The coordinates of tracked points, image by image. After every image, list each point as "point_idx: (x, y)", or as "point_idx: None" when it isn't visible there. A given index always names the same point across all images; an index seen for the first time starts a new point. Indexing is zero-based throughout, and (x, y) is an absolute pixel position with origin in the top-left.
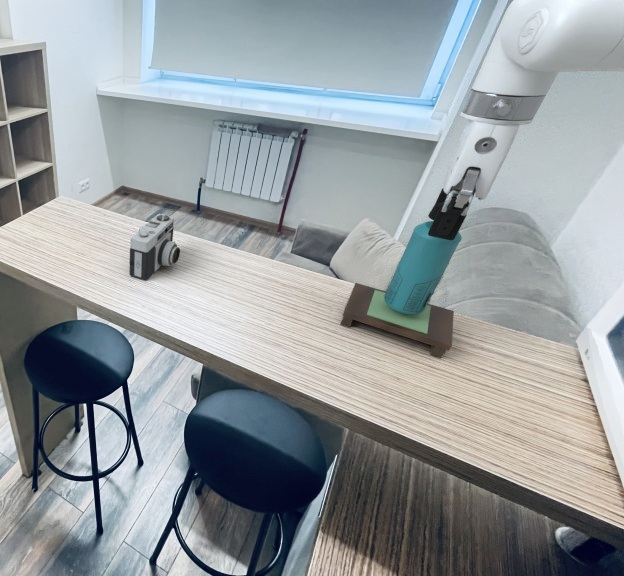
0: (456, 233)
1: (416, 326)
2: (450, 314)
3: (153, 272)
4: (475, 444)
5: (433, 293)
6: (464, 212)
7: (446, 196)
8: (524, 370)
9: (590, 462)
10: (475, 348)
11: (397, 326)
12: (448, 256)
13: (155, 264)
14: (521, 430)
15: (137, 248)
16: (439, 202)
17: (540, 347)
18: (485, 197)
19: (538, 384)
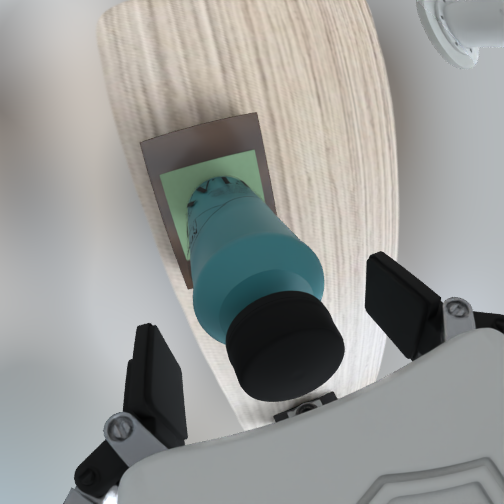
0: (395, 262)
1: (247, 168)
2: (156, 142)
3: (318, 398)
4: (365, 68)
5: (236, 183)
6: (467, 309)
7: (177, 414)
8: (180, 33)
9: None
10: (174, 89)
11: (267, 189)
12: (274, 220)
13: (322, 405)
14: (312, 29)
15: None
16: (180, 397)
17: (100, 38)
18: (494, 329)
19: (201, 17)
